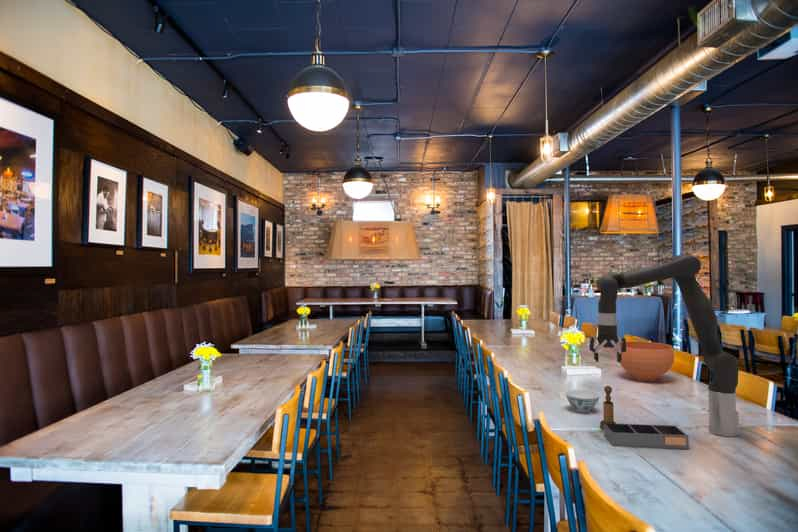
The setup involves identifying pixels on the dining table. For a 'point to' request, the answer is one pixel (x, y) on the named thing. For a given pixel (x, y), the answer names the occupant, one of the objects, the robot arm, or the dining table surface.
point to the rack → (646, 436)
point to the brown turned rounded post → (607, 408)
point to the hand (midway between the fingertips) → (607, 361)
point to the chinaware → (582, 399)
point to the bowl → (646, 359)
